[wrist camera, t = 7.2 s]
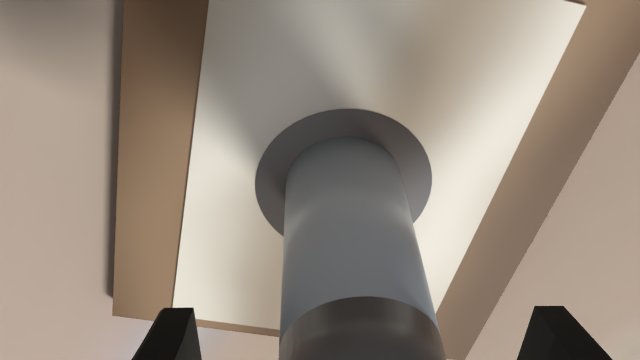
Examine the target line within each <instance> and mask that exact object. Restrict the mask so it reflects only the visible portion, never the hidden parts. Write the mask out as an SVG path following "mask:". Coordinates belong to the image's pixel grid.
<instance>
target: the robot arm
mask: <svg viewBox="0 0 640 360" xmlns="http://www.w3.org/2000/svg"><path fill="white" fill-rule="evenodd" d="M132 360H202V359H201V353H200V346H199V340H198V333H197V327H196V320H195V314H194V308H163V309H162V310H161V311H160V312H159V314H158V315H157V317H156V319H155V321H154V323H153V325H152V326H151V328H150V330H149V332H148V333H147V335H146V337H145V339H144V340H143V342H142V344H141V345H140V347H139V349H138V350H137V352H136V353H135V355H134V357H133V358H132ZM517 360H612V359H611V358H610V356H609V355H608V354H607V353H606V352H605V351H604V350H603V349H602V348H601V347H600V346H599V344H598V343H597V342H596V341H595V340H594V339H593V338H592V337H591V336H590V335H589V334H588V332H587V331H586V330H585V329H584V328H583V327H582V326H581V325H580V324H579V323H578V321H577V320H576V319H575V318H574V317H573V316H572V315H571V314H570V313H569V312H568V311H567V310H566V308H565V307H564V306H535V307H534V310H533V313H532V316H531V319H530V322H529V325H528V328H527V331H526V334H525V337H524V340H523V343H522V346H521V349H520V352H519V355H518V358H517Z"/></svg>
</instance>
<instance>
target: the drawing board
mask: <svg viewBox="0 0 640 360" xmlns="http://www.w3.org/2000/svg"><path fill="white" fill-rule="evenodd" d="M639 53H640V0H124V7H123V35H122V63H121V91H120V118H119V146H118V174H117V202H116V230H115V258H114V286H113V313H112V316H120V317H127V318H135V319H143V320H151V321H155V319H156V317H157V315H158V314H159V312H160V311H161V310H162V309H163V308H194V314H195V320H196V326H197V327H205V328H213V329H221V330H228V331H236V332H244V333H252V334H259V335H267V336H275V337H280V315H281V290H282V266H283V242H284V217H285V193H286V179H287V175H288V172H289V169H290V167H291V165H292V164H293V162H294V161H295V159H296V158H297V157H298V156H299V155H300V154H301V153H302V152H303V151H305V150H306V149H307V148H309V147H310V146H312V145H314V144H316V143H318V142H320V141H323V140H326V139H330V138H335V137H357V138H362V139H366V140H369V141H371V142H374V143H376V144H377V145H379V146H381V147H382V148H384V149H385V150H386V151H387V152H388V153H389V154H390V155H391V156H392V157H393V158H394V160H395V161H396V163H397V165H398V167H399V170H400V173H401V177H402V181H403V185H404V189H405V193H406V197H407V201H408V205H409V209H410V213H411V218H412V222H413V226H414V230H415V234H416V238H417V242H418V246H419V250H420V254H421V258H422V262H423V266H424V270H425V274H426V278H427V282H428V286H429V291H430V295H431V299H432V303H433V307H434V311H435V315H436V319H437V323H438V327H439V331H440V335H441V339H442V343H443V347H444V351H445V355H446V359H453V360H465V358H466V357H467V355H468V353H469V351H470V350H471V348H472V346H473V344H474V343H475V341H476V339H477V337H478V336H479V334H480V332H481V330H482V329H483V327H484V325H485V323H486V322H487V320H488V318H489V316H490V314H491V313H492V311H493V309H494V307H495V306H496V304H497V302H498V300H499V299H500V297H501V295H502V293H503V292H504V290H505V288H506V286H507V285H508V283H509V281H510V279H511V278H512V276H513V274H514V272H515V271H516V269H517V267H518V265H519V264H520V262H521V260H522V258H523V257H524V255H525V253H526V251H527V249H528V248H529V246H530V244H531V242H532V241H533V239H534V237H535V235H536V234H537V232H538V230H539V228H540V227H541V225H542V223H543V221H544V220H545V218H546V216H547V214H548V213H549V211H550V209H551V207H552V206H553V204H554V202H555V200H556V199H557V197H558V195H559V193H560V191H561V190H562V188H563V186H564V184H565V183H566V181H567V179H568V177H569V176H570V174H571V172H572V170H573V169H574V167H575V165H576V163H577V162H578V160H579V158H580V156H581V155H582V153H583V151H584V149H585V148H586V146H587V144H588V142H589V141H590V139H591V137H592V135H593V134H594V132H595V130H596V128H597V126H598V125H599V123H600V121H601V119H602V118H603V116H604V114H605V112H606V111H607V109H608V107H609V105H610V104H611V102H612V100H613V98H614V97H615V95H616V93H617V91H618V90H619V88H620V86H621V84H622V83H623V81H624V79H625V77H626V76H627V74H628V72H629V70H630V69H631V67H632V65H633V63H634V61H635V60H636V58H637V56H638V54H639Z"/></svg>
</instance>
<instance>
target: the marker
mask: <svg viewBox="0 0 640 360" xmlns="http://www.w3.org/2000/svg"><path fill="white" fill-rule="evenodd" d="M279 360H447V359H446V355H445V351H444V347H443V343H442V339H441V335H440V331H439V327H438V323H437V319H436V315H435V311H434V307H433V303H432V299H431V295H430V291H429V286H428V282H427V278H426V274H425V270H424V266H423V262H422V258H421V254H420V250H419V246H418V242H417V238H416V234H415V230H414V226H413V222H412V218H411V213H410V209H409V205H408V201H407V197H406V193H405V189H404V185H403V181H402V177H401V173H400V170H399V167H398V165H397V163H396V161H395V160H394V158H393V157H392V156H391V155H390V154H389V153H388V152H387V151H386V150H385V149H384V148H382V147H381V146H379V145H377V144H376V143H374V142H371V141H369V140H366V139H362V138H357V137H335V138H330V139H326V140H323V141H320V142H318V143H316V144H314V145H312V146H310V147H309V148H307V149H306V150H305V151H303V152H302V153H301V154H300V155H299V156H298V157H297V158H296V159H295V161H294V162H293V164H292V165H291V167H290V169H289V172H288V175H287V179H286V193H285V217H284V242H283V266H282V290H281V315H280V339H279Z"/></svg>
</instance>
